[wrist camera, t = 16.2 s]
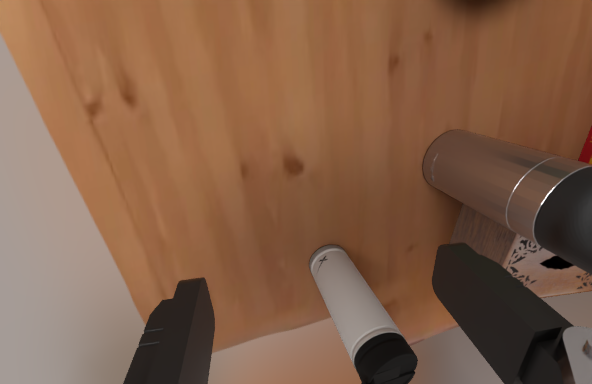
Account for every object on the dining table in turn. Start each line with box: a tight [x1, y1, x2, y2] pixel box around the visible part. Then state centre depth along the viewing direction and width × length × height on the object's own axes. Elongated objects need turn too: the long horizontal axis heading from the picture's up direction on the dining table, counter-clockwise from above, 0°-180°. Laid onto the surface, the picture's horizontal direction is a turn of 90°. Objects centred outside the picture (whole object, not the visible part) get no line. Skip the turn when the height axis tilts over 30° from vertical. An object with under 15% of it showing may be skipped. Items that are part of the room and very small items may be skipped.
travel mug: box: [309, 245, 418, 384], centre depth 37 cm, size 6×7×20 cm
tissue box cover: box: [449, 204, 592, 298], centre depth 50 cm, size 26×14×10 cm, turn 85°
